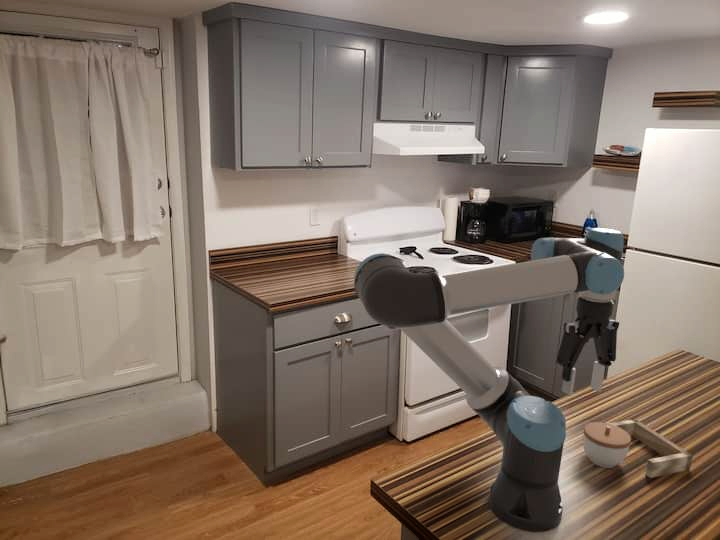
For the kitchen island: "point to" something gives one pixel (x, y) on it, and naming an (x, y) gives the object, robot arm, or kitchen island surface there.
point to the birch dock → (658, 449)
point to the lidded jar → (605, 444)
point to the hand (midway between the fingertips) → (581, 390)
